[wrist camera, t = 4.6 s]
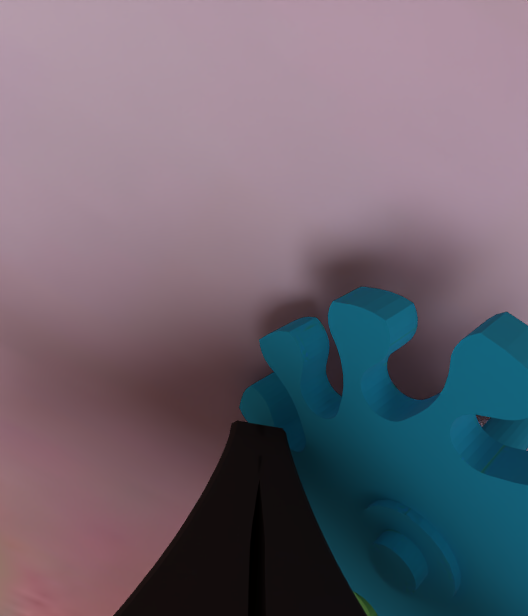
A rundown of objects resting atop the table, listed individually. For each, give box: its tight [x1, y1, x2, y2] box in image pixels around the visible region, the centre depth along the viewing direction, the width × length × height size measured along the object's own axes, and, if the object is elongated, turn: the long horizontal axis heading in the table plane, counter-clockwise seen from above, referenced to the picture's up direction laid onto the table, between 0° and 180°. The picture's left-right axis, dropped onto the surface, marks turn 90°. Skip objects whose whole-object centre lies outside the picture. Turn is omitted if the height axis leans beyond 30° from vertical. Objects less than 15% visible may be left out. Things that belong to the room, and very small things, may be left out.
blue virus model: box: [239, 286, 528, 616], centre depth 11 cm, size 11×6×10 cm
